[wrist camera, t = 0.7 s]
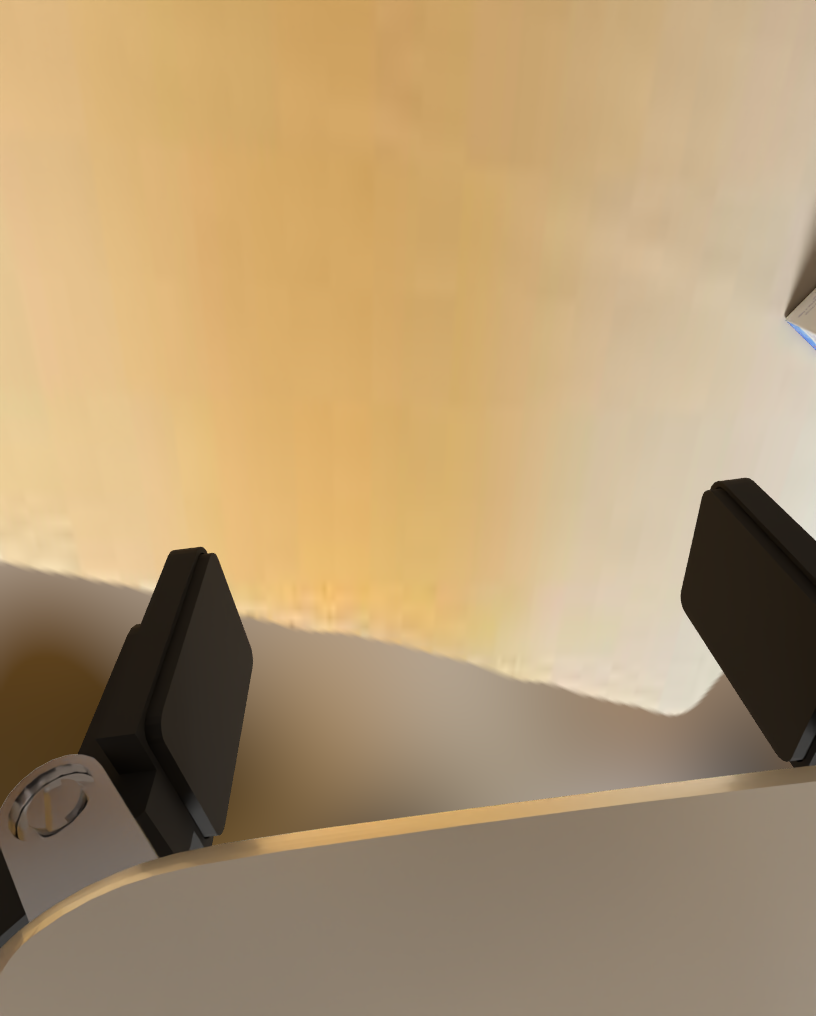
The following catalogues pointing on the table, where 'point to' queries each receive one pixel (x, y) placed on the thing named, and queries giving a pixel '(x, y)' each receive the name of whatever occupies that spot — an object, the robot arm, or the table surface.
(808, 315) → the medicine box
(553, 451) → the table surface
